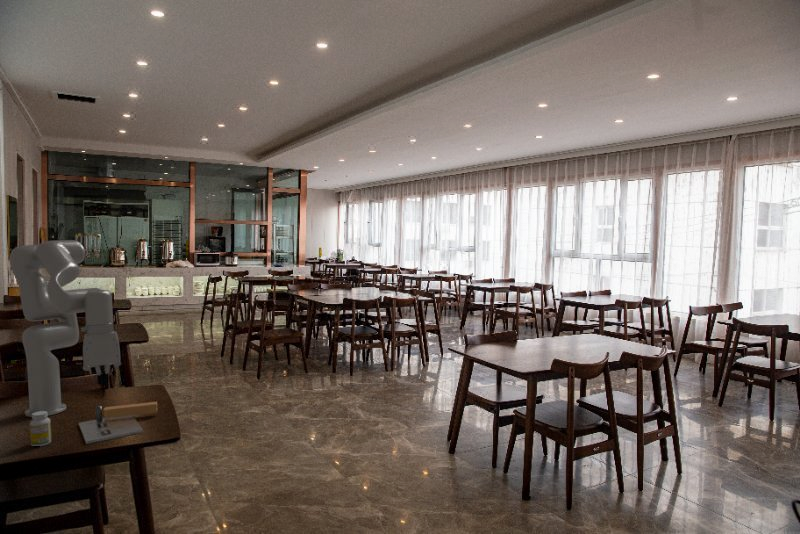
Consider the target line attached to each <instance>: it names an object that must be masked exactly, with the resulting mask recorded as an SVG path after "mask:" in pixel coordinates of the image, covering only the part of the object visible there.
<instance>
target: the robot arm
mask: <svg viewBox="0 0 800 534" xmlns="http://www.w3.org/2000/svg"><path fill="white" fill-rule="evenodd" d="M85 258H86V249H85V247H84V245H83V244H82V243H81V242H79V241H77V240H74V239H65V240H62V239H58V240H47V241H43V242H41V243H40V244H26V245H20V246H17V247H15V248H13V249H12V250H11V252H10V255H9V264H10V270H11V271H12V274H13V276H14V278H15V279H16V282H17V284H18V289H19V295H20V303H21V307H22V313H23V316H24V318H25V319H26V320H27V321H30V322H39V321H40V322H41V321H47V320H55V319H57V321H58V322H57V321H56V322H48V323H43V324H36V325H33V326H30V327H27V328H26V329H25V330H24V331H23V332H22V335H21V338H22V339H21V340H22V344H23V348H24V353H25V360H26V367H27V368H26V371H27V383H28V384H27V385H28V397H29V398H28V399H29V400H28V401H29V402H28V403H29V408H27V409H26V410H25V411H24V416H26V417H28V418H29V417H30V418H32V414H33V413H35V412H39V411H47V412H48V416H54V415H57V414H59V413H63V412H64V411H65V410H66V409H67V404H65V403H63V402H62V394H61V377H60V376H61V375H60V373H61V372H60V361H59V359H58V358H57V357H56V356H55V354H53V353H52V352H51V351H53V350H58V349H63V348H64V349H65V348H68V347H73V346H75V345H77V343H78V342H79V339H80V332H82V333H83V332H84V333H86V334H84V336H83V343H82V363H83V365H82V370H83V371H88V372H93V373H94V374H96V380H97V383H96V384H97V385H98V386H99V387H100V388H104V387H105V388H106V387H108V384H109V382H110V380H109V374H110V372H111V371H112V370H113V369H114V368H116V367H119V366H121V365H122V362H121V349H120V348H121V347H120V342H119V336H118V333H117V331H114V329H115V328H114V313H113V312H114V311H113V297H112V292H111V291H110V290H108V289H101V288H97V287H89V288H77V289H68V290H67V289H66V290H65V289H64V288H63V287H65V286H67V285H68V284H71V283H73V282H74V281H75V280H77V278H78V277H79V276H80V272H81V270H80V267H79V264H81V263H82V262H84V260H85ZM36 269H37V270H36ZM38 269H39V270H40V269H45V270H46V272H47V273H48V274H49V276H50V278H49V280H48V281H47V279H46V278H45V276H43V274H41V273H40V272H39V271H38ZM79 313H85V326H81V327H80V330H79V324H78V317H77V316H78V315H77V314H79ZM103 366H104V367H103ZM101 367H103V368H104V369H103V371H102V370H101ZM48 416H47V417H48Z"/></svg>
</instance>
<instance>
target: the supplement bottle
mask: <svg viewBox="0 0 800 534" xmlns="http://www.w3.org/2000/svg"><path fill="white" fill-rule="evenodd" d="M31 419H32V420H31V421H30V422H29V435H30V439H29V440H30V445H31V447H33V446H40V447H44V446H48V445H49V444H51V443H52V425H51V418H49V417H48V412H47V411H39V412H35V413H33V414H32V417H31Z"/></svg>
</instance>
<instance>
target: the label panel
mask: <svg viewBox="0 0 800 534" xmlns="http://www.w3.org/2000/svg"><path fill="white" fill-rule="evenodd" d="M102 406H103V405H96V406H95V417H96V418H95V419H93V420H86V421H81V422H78V426H79V429H80V432H81V435H82V437H83V440H84V443H85V445H89V444H90V445H91V444H93V443H94V444H95V443H98V442H99V443H100V442H102V441H103V442H105V441H107V440H112V439H118V438H123V437H128V436H132V435H136V434H142V433H144V430H143V428H142V426H141V425H140V423H139V422H138V420H137V418H135V415H132V416H123V417H115V418H106V419H104V417H103V407H102Z"/></svg>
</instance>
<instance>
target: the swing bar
mask: <svg viewBox="0 0 800 534" xmlns="http://www.w3.org/2000/svg"><path fill="white" fill-rule="evenodd" d="M102 412H103V418H104V419H106V418H115V417H123V416H132V415H133V416H140V415H147V414H157V413H158V401H149V402H140V403H133V404H132V403H131V404H124V405H123V404H121V405H115V406H114V405H113V406H105V407H104V408H103V409H102Z"/></svg>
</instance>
